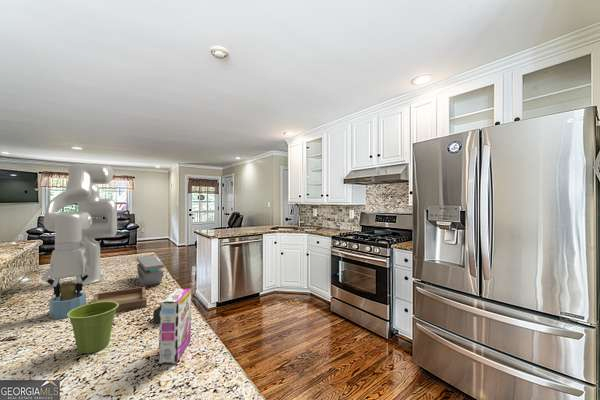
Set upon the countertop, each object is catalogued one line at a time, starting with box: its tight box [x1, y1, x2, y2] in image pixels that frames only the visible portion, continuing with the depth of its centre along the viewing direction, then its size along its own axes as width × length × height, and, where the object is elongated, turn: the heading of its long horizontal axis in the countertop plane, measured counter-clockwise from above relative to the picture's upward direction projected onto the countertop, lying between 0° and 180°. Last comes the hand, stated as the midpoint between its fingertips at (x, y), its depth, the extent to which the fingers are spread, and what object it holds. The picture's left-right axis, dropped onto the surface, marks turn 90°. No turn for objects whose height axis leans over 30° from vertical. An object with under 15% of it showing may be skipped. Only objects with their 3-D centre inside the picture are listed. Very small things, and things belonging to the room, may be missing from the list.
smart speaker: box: [152, 306, 160, 325], centre depth 95 cm, size 9×9×4 cm
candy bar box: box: [158, 288, 193, 365], centre depth 74 cm, size 11×5×16 cm, turn 5°
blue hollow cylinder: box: [48, 291, 87, 320], centre depth 99 cm, size 10×10×6 cm
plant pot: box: [67, 301, 119, 354], centre depth 76 cm, size 12×12×11 cm
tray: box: [91, 286, 147, 314], centre depth 107 cm, size 18×18×3 cm
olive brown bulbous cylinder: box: [59, 282, 77, 301], centre depth 99 cm, size 6×6×11 cm
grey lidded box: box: [136, 255, 165, 287], centre depth 135 cm, size 25×8×11 cm, turn 39°
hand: (68, 294), depth 98 cm, fingers closed on olive brown bulbous cylinder, 5 cm apart
